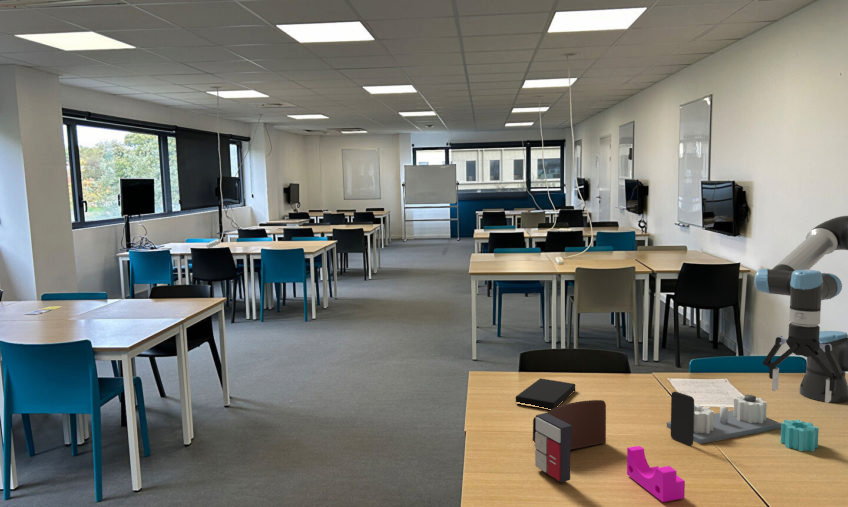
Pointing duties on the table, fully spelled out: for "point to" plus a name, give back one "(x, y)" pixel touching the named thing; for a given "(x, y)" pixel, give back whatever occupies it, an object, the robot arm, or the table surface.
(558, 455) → the calculator
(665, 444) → the table surface
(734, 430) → the gear board
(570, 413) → the letter holder
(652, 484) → the magenta mounting bracket
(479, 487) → the table surface
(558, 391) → the black book
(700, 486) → the table surface
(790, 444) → the teal gear
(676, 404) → the phone
